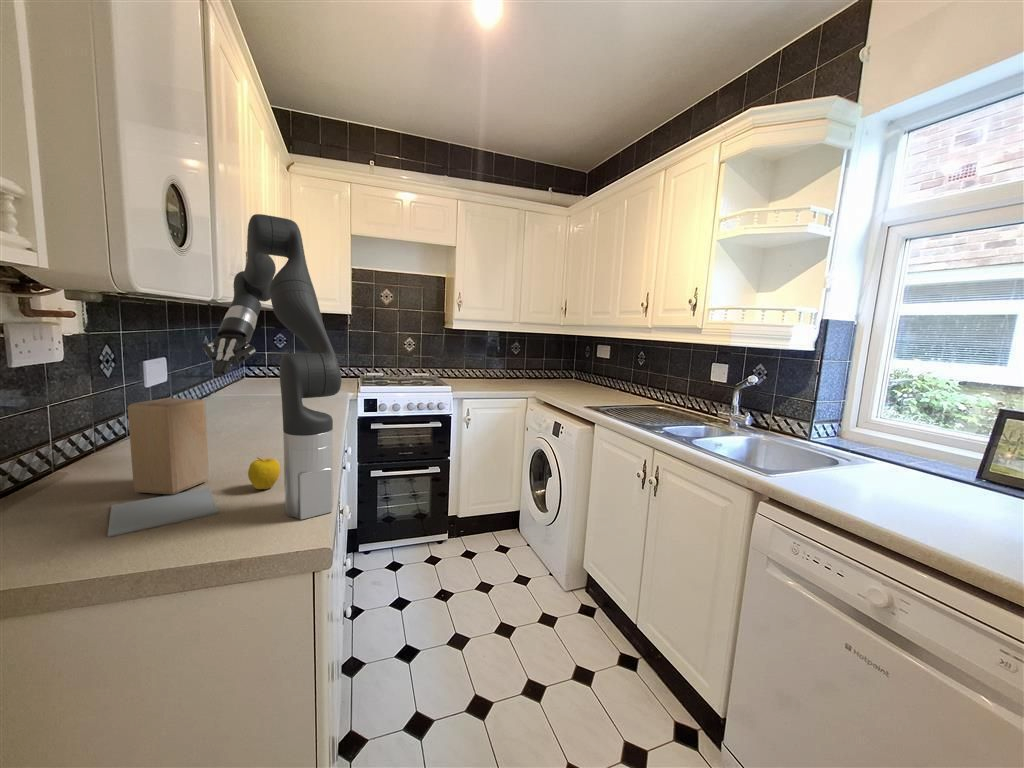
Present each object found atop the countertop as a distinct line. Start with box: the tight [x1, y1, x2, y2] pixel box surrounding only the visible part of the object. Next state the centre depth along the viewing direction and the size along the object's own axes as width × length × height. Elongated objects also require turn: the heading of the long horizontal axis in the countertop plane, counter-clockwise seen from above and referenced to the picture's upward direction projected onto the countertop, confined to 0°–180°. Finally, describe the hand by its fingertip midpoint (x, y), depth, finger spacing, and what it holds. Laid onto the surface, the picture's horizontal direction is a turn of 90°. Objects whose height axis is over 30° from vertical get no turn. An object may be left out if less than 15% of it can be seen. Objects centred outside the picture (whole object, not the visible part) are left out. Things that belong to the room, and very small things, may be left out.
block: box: [127, 397, 210, 495], centre depth 92 cm, size 10×10×20 cm
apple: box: [247, 456, 281, 490], centre depth 95 cm, size 6×6×8 cm
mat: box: [107, 487, 219, 538], centre depth 83 cm, size 15×16×1 cm
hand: (219, 374), depth 104 cm, fingers closed
